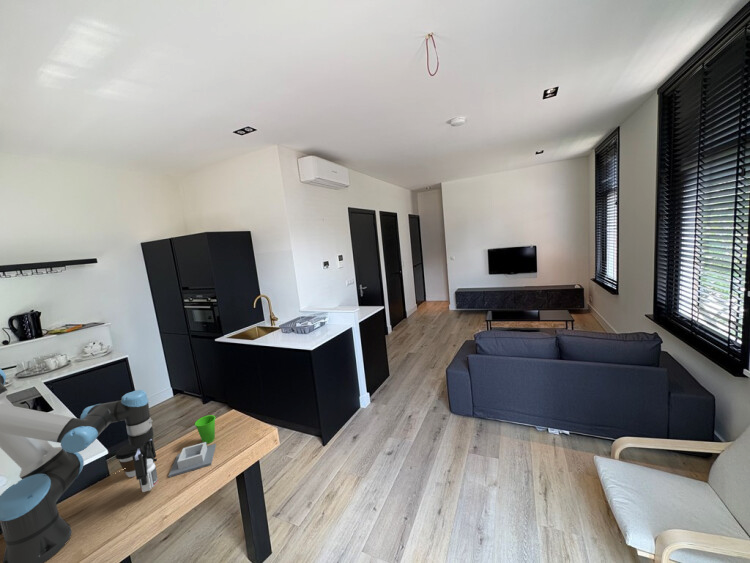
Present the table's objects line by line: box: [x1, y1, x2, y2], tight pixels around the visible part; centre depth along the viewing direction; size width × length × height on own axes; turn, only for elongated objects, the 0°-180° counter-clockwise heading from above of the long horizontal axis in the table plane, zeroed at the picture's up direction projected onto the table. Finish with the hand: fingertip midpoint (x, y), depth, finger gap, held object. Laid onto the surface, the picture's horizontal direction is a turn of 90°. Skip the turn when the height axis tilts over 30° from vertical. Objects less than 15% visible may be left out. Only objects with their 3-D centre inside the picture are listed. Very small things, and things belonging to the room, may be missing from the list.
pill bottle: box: [138, 459, 159, 491], centre depth 119 cm, size 6×6×10 cm
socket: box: [168, 442, 217, 478], centre depth 135 cm, size 16×14×4 cm
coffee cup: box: [114, 442, 136, 478], centre depth 131 cm, size 11×11×12 cm
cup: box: [194, 414, 217, 444], centre depth 148 cm, size 9×9×11 cm
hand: (149, 484), depth 120 cm, fingers closed on pill bottle, 6 cm apart
